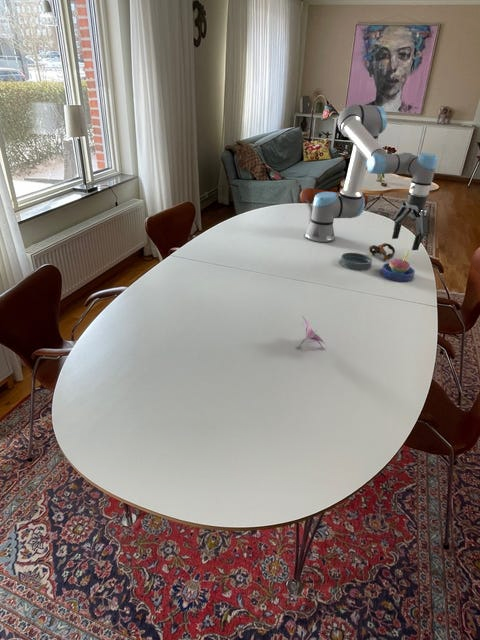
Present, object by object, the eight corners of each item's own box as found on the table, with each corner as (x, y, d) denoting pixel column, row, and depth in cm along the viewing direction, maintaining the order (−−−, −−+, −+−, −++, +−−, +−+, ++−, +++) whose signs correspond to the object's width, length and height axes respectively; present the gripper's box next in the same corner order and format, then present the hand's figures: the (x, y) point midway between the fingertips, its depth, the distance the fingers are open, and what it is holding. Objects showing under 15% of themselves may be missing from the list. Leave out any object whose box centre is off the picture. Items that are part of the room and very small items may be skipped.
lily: (321, 363, 132) (337, 336, 130) (287, 346, 131) (303, 318, 129) (315, 352, 143) (329, 327, 142) (284, 336, 142) (298, 311, 141)
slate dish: (334, 260, 204) (336, 253, 202) (359, 257, 208) (361, 251, 207) (350, 271, 193) (351, 265, 191) (376, 269, 197) (378, 262, 196)
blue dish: (374, 270, 196) (376, 264, 194) (399, 268, 200) (401, 261, 198) (393, 283, 184) (395, 276, 183) (419, 280, 189) (421, 273, 187)
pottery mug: (386, 254, 215) (395, 244, 209) (387, 269, 210) (397, 258, 203) (364, 247, 213) (373, 236, 206) (365, 262, 208) (374, 251, 201)
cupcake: (407, 273, 194) (414, 247, 188) (407, 280, 187) (414, 254, 181) (387, 269, 197) (393, 244, 191) (386, 276, 189) (393, 250, 183)
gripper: (391, 186, 183) (380, 234, 194) (431, 203, 163) (416, 255, 174) (406, 186, 185) (394, 233, 196) (447, 202, 165) (431, 254, 176)
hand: (404, 244), depth 185 cm, fingers open, 13 cm apart
